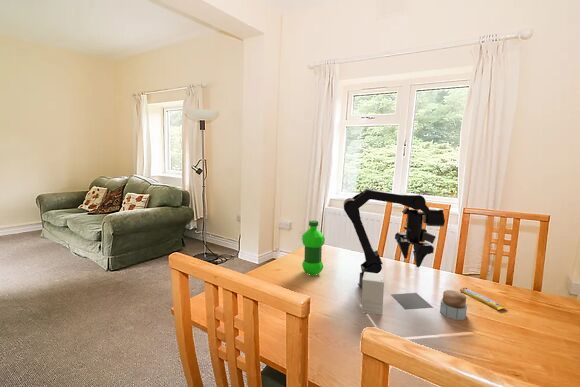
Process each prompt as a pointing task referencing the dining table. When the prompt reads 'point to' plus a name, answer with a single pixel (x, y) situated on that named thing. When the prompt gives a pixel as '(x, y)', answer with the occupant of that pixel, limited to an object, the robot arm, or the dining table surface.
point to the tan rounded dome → (454, 299)
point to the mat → (411, 301)
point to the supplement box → (372, 293)
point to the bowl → (453, 311)
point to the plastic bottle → (313, 249)
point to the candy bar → (482, 299)
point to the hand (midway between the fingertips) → (411, 262)
